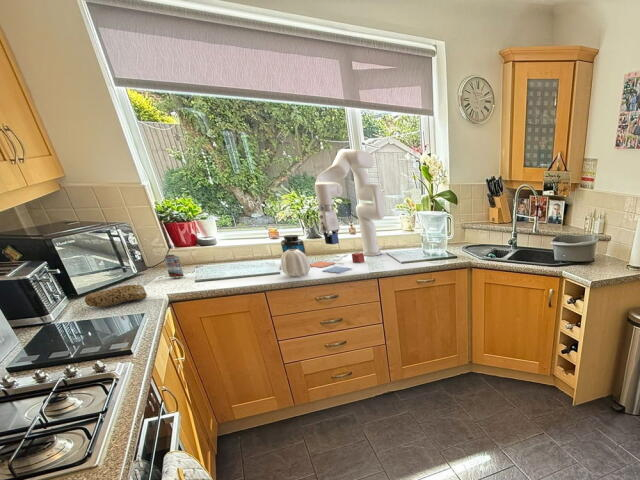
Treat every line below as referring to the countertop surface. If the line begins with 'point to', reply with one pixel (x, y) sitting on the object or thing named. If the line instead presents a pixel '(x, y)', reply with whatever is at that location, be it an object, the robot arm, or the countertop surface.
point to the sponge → (115, 296)
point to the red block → (358, 257)
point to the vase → (295, 263)
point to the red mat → (321, 264)
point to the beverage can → (173, 266)
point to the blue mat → (336, 269)
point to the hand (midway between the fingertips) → (332, 242)
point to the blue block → (333, 238)
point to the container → (292, 243)
